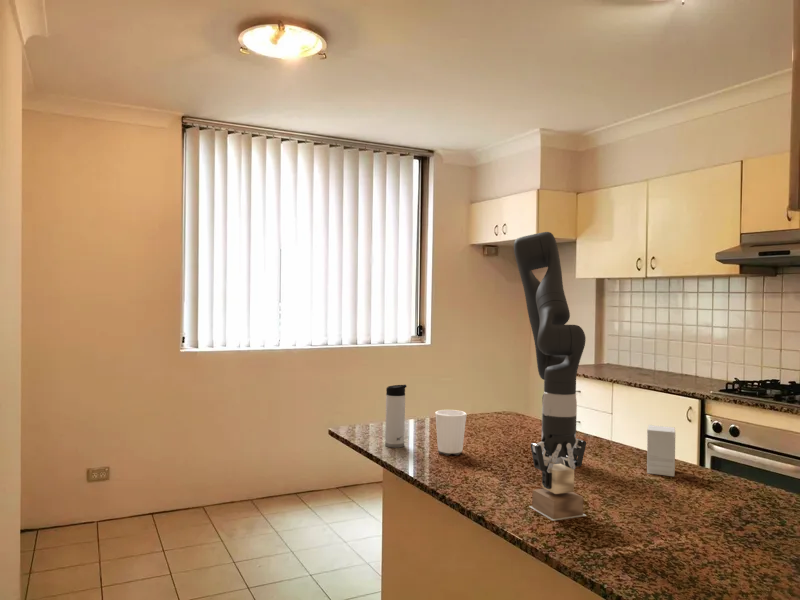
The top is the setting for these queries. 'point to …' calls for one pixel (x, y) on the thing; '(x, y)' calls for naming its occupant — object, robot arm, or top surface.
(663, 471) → the supplement box
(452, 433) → the cup
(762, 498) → the top surface
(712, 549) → the top surface
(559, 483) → the maple cube
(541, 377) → the robot arm
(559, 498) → the walnut base
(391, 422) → the travel mug
